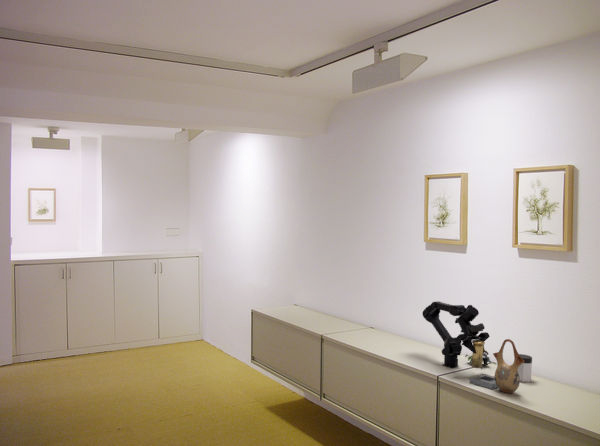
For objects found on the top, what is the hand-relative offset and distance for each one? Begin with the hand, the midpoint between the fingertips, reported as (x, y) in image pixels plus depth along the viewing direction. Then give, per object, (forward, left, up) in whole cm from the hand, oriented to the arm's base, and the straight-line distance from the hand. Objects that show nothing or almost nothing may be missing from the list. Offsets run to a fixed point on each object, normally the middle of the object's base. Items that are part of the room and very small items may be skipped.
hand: (479, 352), depth 268 cm
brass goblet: (-2, +1, -8) cm, 8 cm away
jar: (+14, +18, -13) cm, 26 cm away
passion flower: (-13, +22, -13) cm, 28 cm away
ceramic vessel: (+19, -8, -13) cm, 24 cm away
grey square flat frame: (+7, -4, -13) cm, 16 cm away
